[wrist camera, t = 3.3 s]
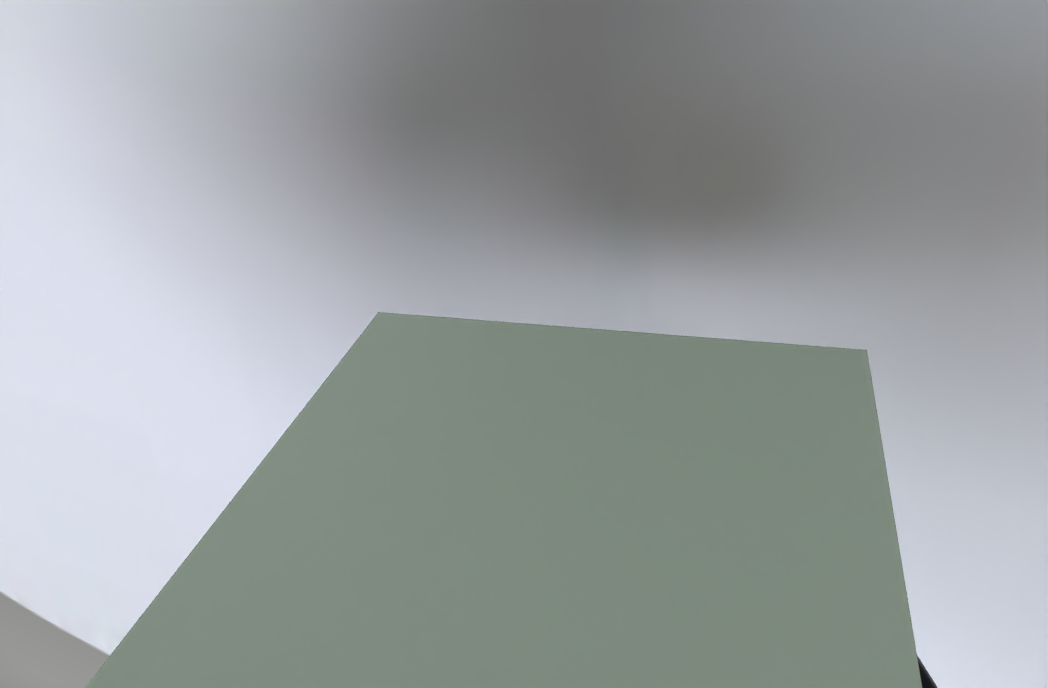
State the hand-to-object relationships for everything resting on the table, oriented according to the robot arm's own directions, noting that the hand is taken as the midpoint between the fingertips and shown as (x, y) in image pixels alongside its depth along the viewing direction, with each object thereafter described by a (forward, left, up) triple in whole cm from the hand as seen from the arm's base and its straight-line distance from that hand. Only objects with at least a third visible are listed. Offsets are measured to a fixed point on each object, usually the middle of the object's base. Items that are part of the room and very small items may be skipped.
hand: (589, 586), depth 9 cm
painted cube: (0, 0, -1) cm, 1 cm away
